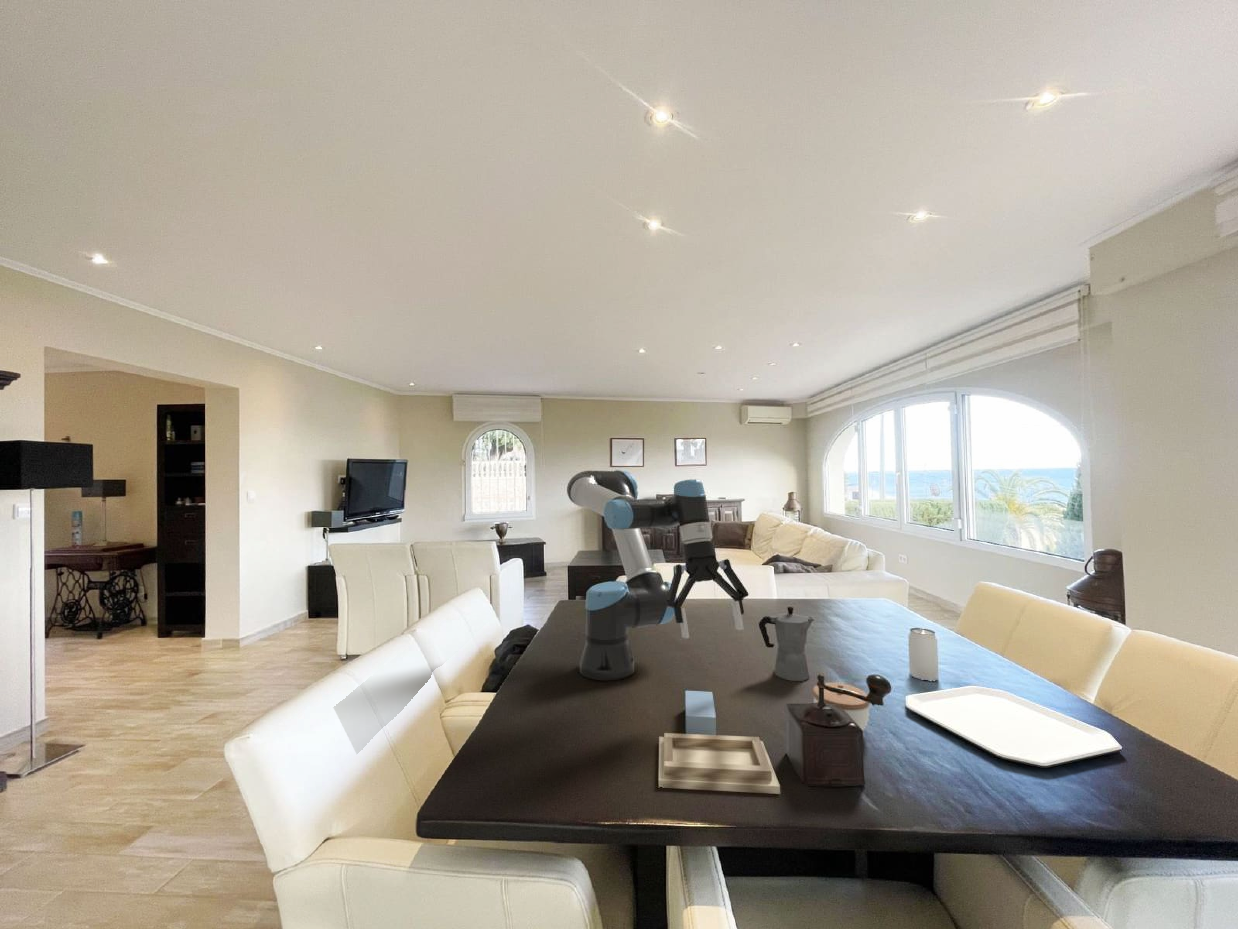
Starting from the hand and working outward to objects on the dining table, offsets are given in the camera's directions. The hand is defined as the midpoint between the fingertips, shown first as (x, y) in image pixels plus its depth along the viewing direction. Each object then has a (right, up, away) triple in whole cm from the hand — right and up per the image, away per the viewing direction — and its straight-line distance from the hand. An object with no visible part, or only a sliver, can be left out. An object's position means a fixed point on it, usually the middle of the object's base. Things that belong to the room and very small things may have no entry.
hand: (713, 634), depth 110 cm
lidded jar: (+24, -16, -12) cm, 31 cm away
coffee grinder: (+17, -16, -25) cm, 34 cm away
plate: (+58, -16, -11) cm, 62 cm away
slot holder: (-5, -16, -24) cm, 29 cm away
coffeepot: (+23, -17, +18) cm, 34 cm away
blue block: (-5, -17, -8) cm, 19 cm away
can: (+59, -17, +16) cm, 63 cm away
